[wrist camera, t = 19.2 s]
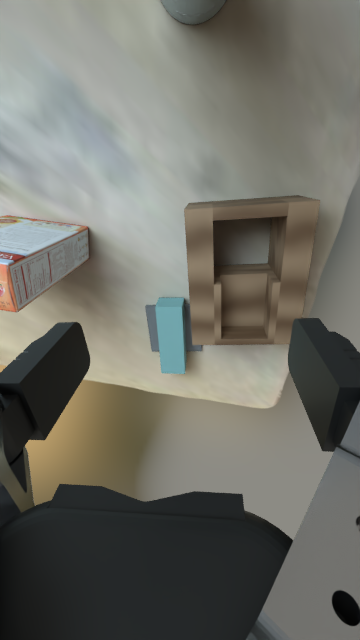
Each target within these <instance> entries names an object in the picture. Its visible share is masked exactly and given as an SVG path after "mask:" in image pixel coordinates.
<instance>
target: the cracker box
mask: <svg viewBox="0 0 360 640" xmlns="http://www.w3.org/2000/svg"><path fill="white" fill-rule="evenodd" d="M88 259H89V241H88V227H87V226H80V225H73V224H66V223H58V222H51V221H44V220H37V219H29V218H23V217H15V216H8V215H7V216H2V217H0V310H5V311H12V312H19V311H20V310H21V309H22V308H24V307H25V306H27V305H28V304H29V303H31V302H32V301H33V300H35V299H36V298H37V297H39V296H40V295H41V294H43V293H44V292H45V291H47V290H48V289H49V288H51V287H52V286H53V285H55V284H56V283H57V282H59V281H60V280H61V279H63V278H64V277H65V276H67V275H68V274H69V273H71V272H72V271H73V270H75V269H76V268H77V267H79V266H80V265H82V264H83V263H84V262H85V261H87V260H88Z"/></svg>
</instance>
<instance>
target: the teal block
mask: <svg viewBox="0 0 360 640" xmlns="http://www.w3.org/2000/svg"><path fill="white" fill-rule="evenodd" d="M155 310H156V320H157V331H158V341H159V351H160V362H161V372H162V373H174V374H185V369H186V336H185V312H184V298H159V299H158V302H157V304H156V307H155Z"/></svg>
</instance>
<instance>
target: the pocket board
mask: <svg viewBox="0 0 360 640" xmlns="http://www.w3.org/2000/svg"><path fill="white" fill-rule="evenodd" d="M319 206H320V200H316V199H312V198H307V197H303V196H298V195H297V196H283V197H269V198H254V199H240V200H226V201H212V202H198V203H189V204H188V205H187V207H186V208H185V209H184V213H185V230H186V246H187V263H188V279H189V296H190V312H191V329H192V345H243V344H290V339H291V332H292V325H293V321H294V319H296V318H302V314H303V308H304V301H305V295H306V288H307V282H308V276H309V269H310V263H311V257H312V250H313V244H314V237H315V231H316V225H317V218H318V212H319ZM263 217H272V219H271V231H270V243H269V256H268V263H266V264H243V265H219V266H214V261H213V221H215V220H231V219H247V218H263Z"/></svg>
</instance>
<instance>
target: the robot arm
mask: <svg viewBox="0 0 360 640" xmlns="http://www.w3.org/2000/svg"><path fill="white" fill-rule="evenodd" d="M161 2H162V4H163V5H164V7H165V8H166V10H167V11H168V12H169V13H170V14H171V15H172V16H173V17H174V18H175V19H177V20H178V21H180V22H183V23H186V24H199V23H202V22H205V21H207V20H208V19H210V18H212V17H213V16H214V15H215V14H216V13H217V12H218V11H219V10H220V9H221V7H222V6H223V4H224V3H225V2H226V0H161ZM89 366H90V355H89V351H88V348H87V344H86V341H85V337H84V333H83V330H82V327H81V325H80V324H79V323H78V322H65V323H57V324H56V325H55V326H54V327H52V328H51V329H50V330H49V331H48V332H47V333H46V334H45V335H44V336H43V337H41V338H39V339H37V340H36V341H34V342H32V343H31V344H30V345H29V346H28V347H27V348H26V349H25V350H24V351H23V353H21V354H20V355H19V356H18V357H16V360H13V361H12V362H11V363H10V364H9V365H8V366H7V367H6V368H5V369H4V370H3V371H2V372H1V373H0V640H360V353H359V352H358V351H357V350H356V348H355V347H354V346H353V345H352V344H351V342H350V341H349V340H348V339H346V338H345V337H343V336H341V335H340V334H338V333H336V332H329V331H328V330H327V328H326V327H325V326H324V324H323V323H322V322H321V320H320V319H318V318H296V319H294V321H293V325H292V332H291V339H290V346H289V353H288V366H289V370H290V373H291V376H292V378H293V381H294V383H295V386H296V388H297V390H298V393H299V395H300V398H301V400H302V403H303V405H304V407H305V410H306V412H307V415H308V417H309V420H310V422H311V424H312V427H313V429H314V432H315V434H316V436H317V439H318V441H319V444H320V446H321V449H322V451H332V452H334V453H333V456H332V458H331V460H330V462H329V464H328V466H327V469H326V471H325V473H324V475H323V477H322V479H321V482H320V484H319V486H318V488H317V490H316V493H315V495H314V497H313V499H312V501H311V503H310V506H309V508H308V510H307V512H306V515H305V517H304V519H303V521H302V523H301V525H300V528H299V530H298V532H297V534H296V536H295V539H294V541H293V540H292V539H291V538H290V537H289V536H287V535H286V534H285V533H284V532H282V531H281V530H280V529H279V528H277V527H276V526H274V525H273V524H271V523H269V522H268V521H267V520H265V519H263V518H261V517H259V516H257V515H255V514H253V513H250V512H247V511H244V506H243V495H242V494H231V493H212V492H190V493H185V494H181V495H177V496H172V497H167V498H163V499H158V500H154V501H149V502H143V501H139V500H137V499H134V498H131V497H128V496H126V495H123V494H121V493H118V492H115V491H113V490H110V489H107V488H105V487H102V486H86V485H68V484H60V485H59V486H58V488H57V490H56V492H55V494H54V497H53V499H52V500H51V501H48V502H44V503H42V504H39V505H36V506H35V505H34V500H33V492H32V485H31V476H30V467H29V460H28V452H27V450H26V448H25V444H26V443H27V442H28V440H45V439H46V438H47V436H48V434H49V433H50V431H51V430H52V428H53V426H54V424H55V423H56V421H57V420H58V418H59V417H60V415H61V413H62V412H63V410H64V409H65V407H66V405H67V404H68V402H69V400H70V399H71V397H72V396H73V394H74V392H75V391H76V389H77V388H78V386H79V384H80V383H81V381H82V380H83V378H84V376H85V375H86V373H87V371H88V369H89Z"/></svg>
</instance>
